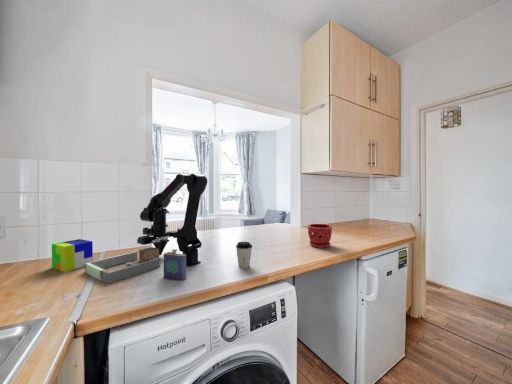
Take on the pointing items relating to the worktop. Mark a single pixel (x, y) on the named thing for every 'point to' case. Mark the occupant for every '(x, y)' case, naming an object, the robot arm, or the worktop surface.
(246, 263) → the coffee cup
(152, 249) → the walnut block
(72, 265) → the puzzle toy
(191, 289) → the worktop surface
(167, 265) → the flask
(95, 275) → the box
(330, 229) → the plant pot
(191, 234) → the robot arm
